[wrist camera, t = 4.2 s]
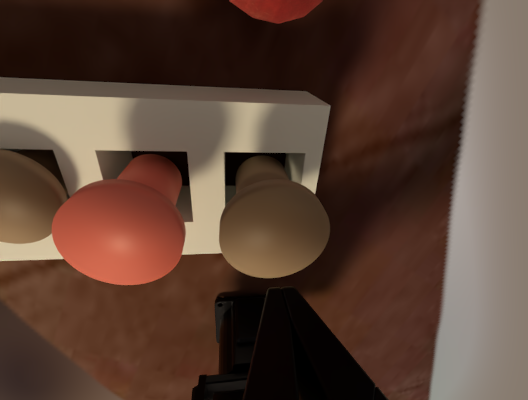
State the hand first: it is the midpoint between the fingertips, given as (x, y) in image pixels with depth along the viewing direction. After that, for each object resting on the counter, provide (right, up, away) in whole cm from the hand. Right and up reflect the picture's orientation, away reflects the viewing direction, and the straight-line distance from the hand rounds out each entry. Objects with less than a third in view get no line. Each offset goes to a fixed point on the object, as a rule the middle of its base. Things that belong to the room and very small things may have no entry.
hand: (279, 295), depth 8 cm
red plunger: (-7, +4, +6) cm, 10 cm away
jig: (-7, +6, +9) cm, 13 cm away
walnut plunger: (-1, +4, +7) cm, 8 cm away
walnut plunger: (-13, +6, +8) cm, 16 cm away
